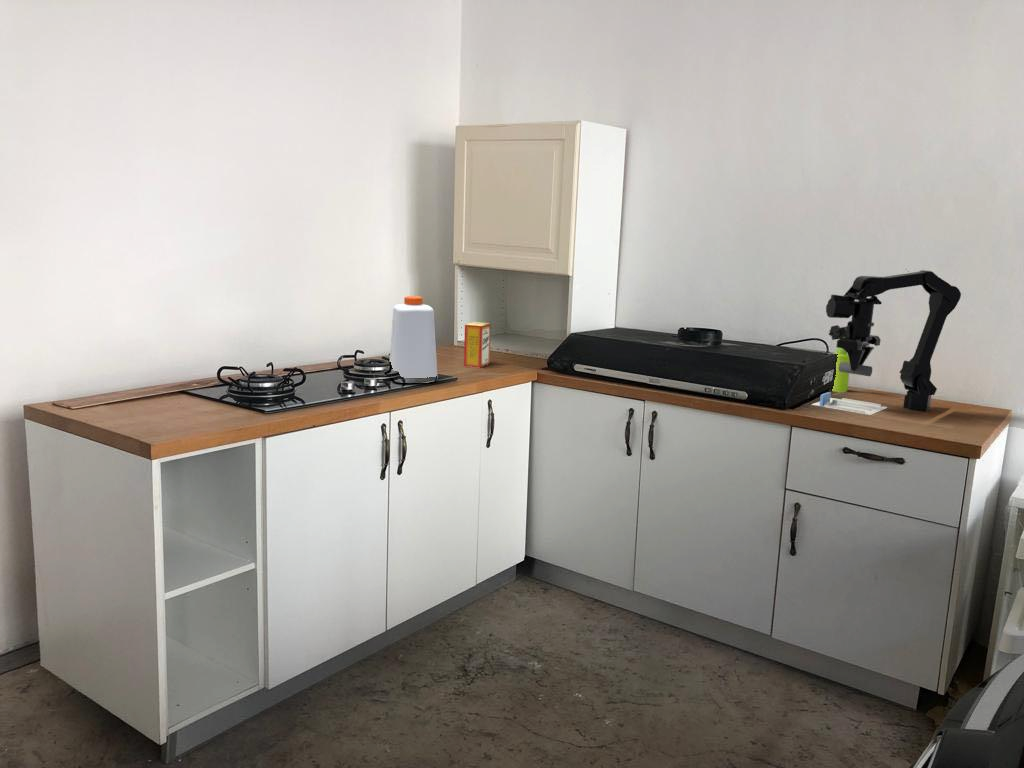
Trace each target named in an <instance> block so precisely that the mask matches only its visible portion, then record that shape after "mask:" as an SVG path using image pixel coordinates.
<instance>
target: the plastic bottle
mask: <svg viewBox="0 0 1024 768" xmlns="http://www.w3.org/2000/svg"><path fill="white" fill-rule="evenodd" d="M391 323H392V324H391V336H390V348H389V349H390V350H389V362H391V365H392V368H393V370H394V371H398V372H399V374H400V376H401V377H404V378H427V377H428V378H429V377H436V376H437V377H438V366H437V365H438V362H437V347H436V344H437V343H436V329H435V326H436V325H435V310H434V309H433V308H432V306H430V305H428V304H424V301H423V297H422V296H417V295H415V296H414V295H412V296H411V295H409V296H407V295H406V296H405V297H404V302H403V303H402V304H401V303H400V304H399V303H398V304H395V305H394V306H393V308H392V321H391Z"/></svg>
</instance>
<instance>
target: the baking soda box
mask: <svg viewBox="0 0 1024 768" xmlns="http://www.w3.org/2000/svg"><path fill="white" fill-rule="evenodd" d="M491 325H492V323H491V322H479V321H473V322H469V323H465V324H464V347H463V348H464V351H463V353H464V354H463V355H464V356H463V367H464V366H472V367H483V366H485V365H487V366H489V365H490V363H491V361H490V360H491V359H490V357H491V328H492V327H491ZM488 364H489V365H488ZM485 367H486V366H485ZM483 368H484V367H483Z"/></svg>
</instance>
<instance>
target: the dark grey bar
mask: <svg viewBox="0 0 1024 768" xmlns="http://www.w3.org/2000/svg"><path fill="white" fill-rule="evenodd" d="M839 372H845V373H849V374H852V375H858V376H865V377H871V376H872V374H873V367H872V366H870V365H865V364H863V365H858V366H857V368H856V370H855V371H852V370H851V366H850V363H845V362H841V363H840V364H839Z"/></svg>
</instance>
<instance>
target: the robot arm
mask: <svg viewBox="0 0 1024 768" xmlns="http://www.w3.org/2000/svg"><path fill="white" fill-rule="evenodd" d="M917 286H922V288H923V290H924V292H926V293H928V294H929V297H928V306H929V307H928V308H929V312H928V316H927V318H926V321H925V324H924V326H923V330H922V333H921V335H920V338H919V340H918V342H917V347H916V348H915V352H914V355H913V356H912V357H911V359H910V360H904V361H903V363H902V367H901V368H900V371H899V374H900V375H899V376H900V377H899V378H900V380H901V383H902V384H903V387H904V389H905V391H906V395H904V399H903V409H908V410H911V411H916V412H928V411H930V409H931V400H932V396H935V394H936V392H937V389H938V388H937V387H936V386H935V385H934V384H933V382H932V381H931V378H932V377H931V375H932V365H931V361H932V358H933V355H934V352H935V350H936V347H937V344H938V342H939V338H940V335H941V333H942V330H943V327H944V325H945V322H946V320H947V317H948V315H950V314H951V313H952V312H953V311H954V310H955V308H957V305H958V303H959V302H960V300H961V296H962V293H961V291H960V289H959V288H958V287H957V286H956V285H951V284H950V283H949V282H947V281H945V280H944V279H942V278H941V277H939V276H938V275H937V274H935V273H934V271H931V270H923V269H922V270H919V271H915V272H909V273H908V272H907V273H902V274H901V273H900V274H894V275H886V276H874V275H859V276H856V277H855V279H854V280H853V283H852V285H851V286H850V288H848V290H847V291H846V292H845V294H843V295H839V294H831V295H830V298H829V299H828V302H827V304H826V306H825V312H826V316H827V317H828V318H830V319H831V318H832V319H833V318H835V319H849V318H851V320H849V321H848V322H847V325H846V326H842V327H840V325H832V326H831V327H830V329H829V332H828V335H829V336H831V337H830V338H831V340H832V341H835V340H836V346H835V347H836V348H837V347H838V348H843V349H844V350H845V351H846V352H847V354H848V356H849V361H850V366H851V370H852V371H855V370H856V368H857V366H858V365H864V364H865V362H866V360H867V359H868V357H870V356H869V355H870V354H871V352H872V351H873V350H874V349H875V347H874V346H876V347H877V346H880V345H881V338H880V336H879V335H873V334H871V331H872V327H875V322H873V315H874V309H875V305H882V304H883V303H882V301H881V300H880V299H879V298H878V295H882V294H884V293H885V292H887V291H891V290H897V289H902V288H909V287H917ZM843 337H845V338H843ZM870 345H874V346H870Z"/></svg>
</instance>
